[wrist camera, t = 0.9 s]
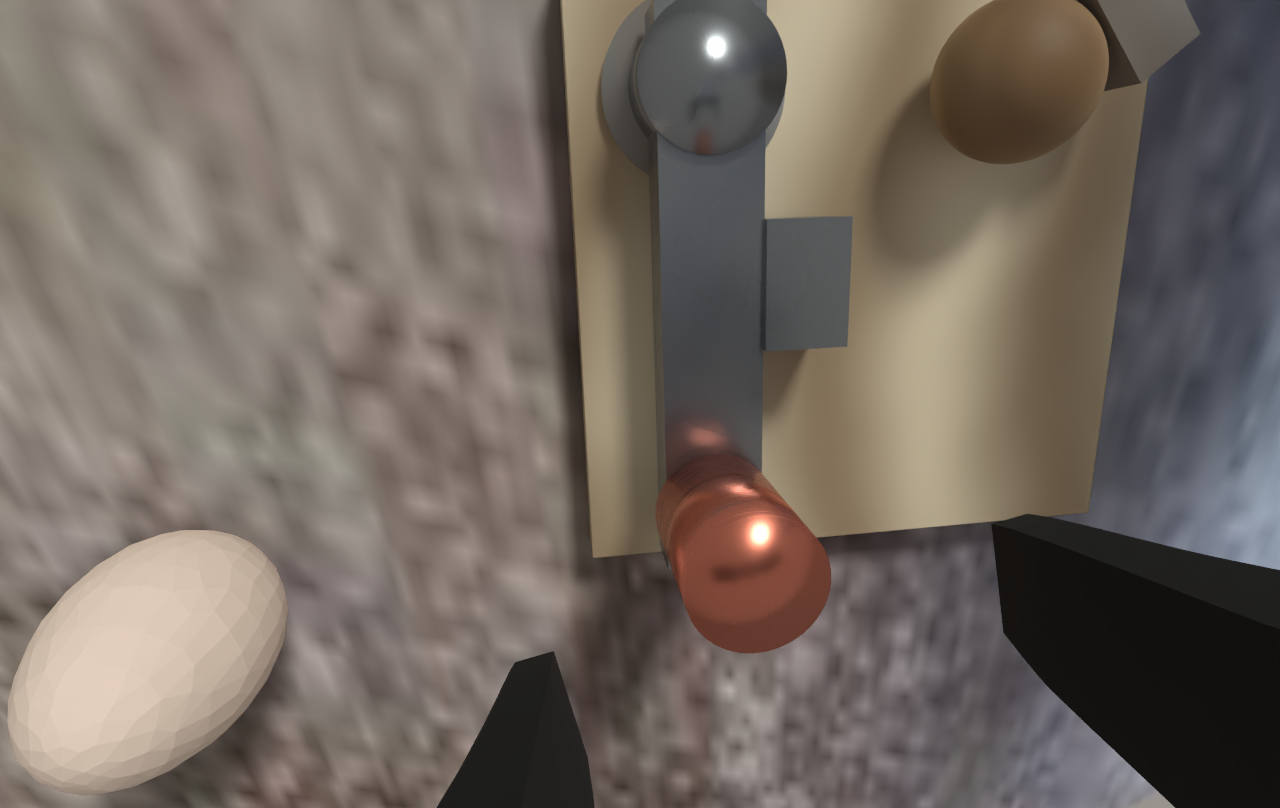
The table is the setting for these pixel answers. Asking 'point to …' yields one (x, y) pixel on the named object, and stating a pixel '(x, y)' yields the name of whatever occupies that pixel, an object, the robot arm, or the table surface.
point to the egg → (146, 661)
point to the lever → (728, 317)
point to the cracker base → (892, 254)
